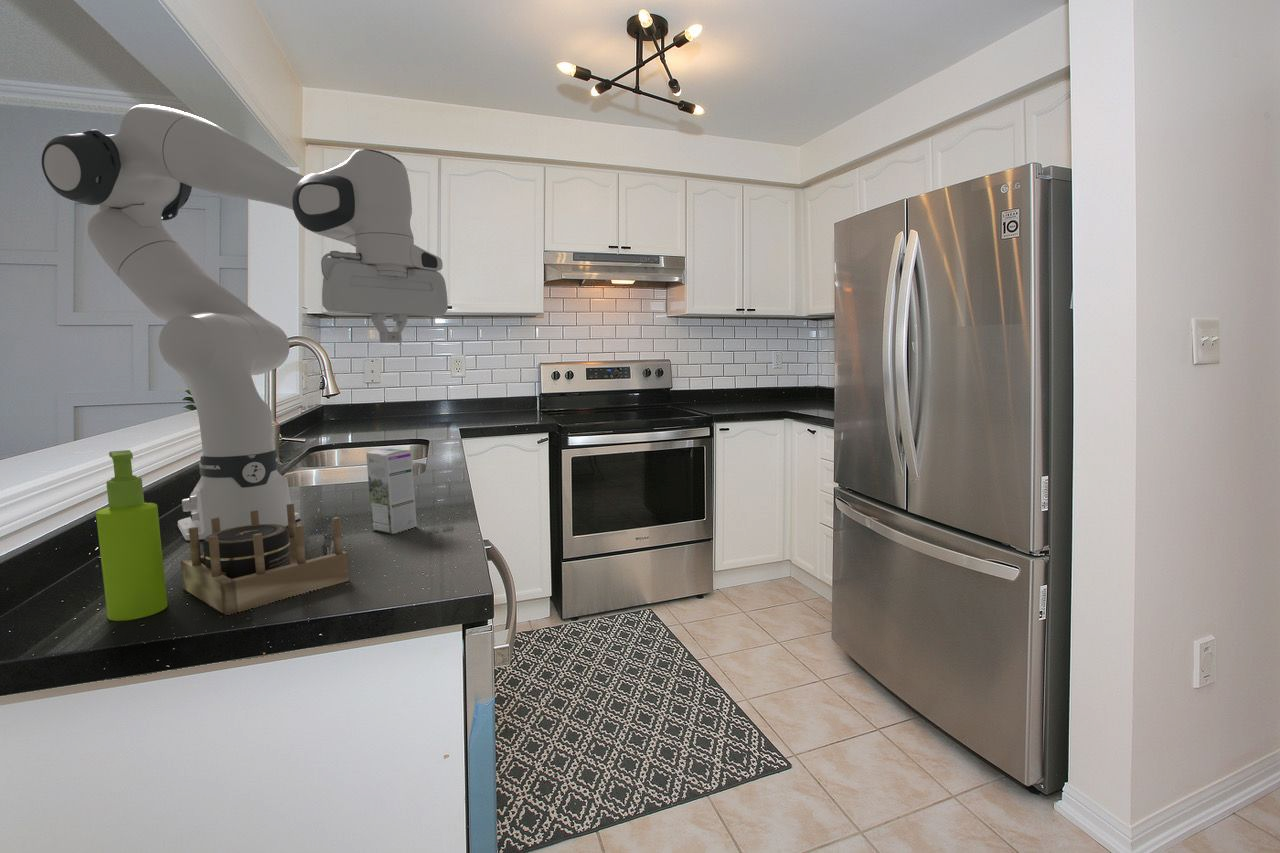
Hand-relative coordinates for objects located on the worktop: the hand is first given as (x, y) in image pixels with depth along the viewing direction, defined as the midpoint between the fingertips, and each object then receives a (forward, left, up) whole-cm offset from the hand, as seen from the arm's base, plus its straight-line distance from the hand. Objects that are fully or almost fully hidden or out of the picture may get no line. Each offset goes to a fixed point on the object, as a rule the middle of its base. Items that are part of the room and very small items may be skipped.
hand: (390, 342), depth 105 cm
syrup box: (-8, +3, -34) cm, 35 cm away
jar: (+3, -25, -34) cm, 42 cm away
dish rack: (+4, -22, -33) cm, 40 cm away
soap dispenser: (+1, -37, -34) cm, 50 cm away
